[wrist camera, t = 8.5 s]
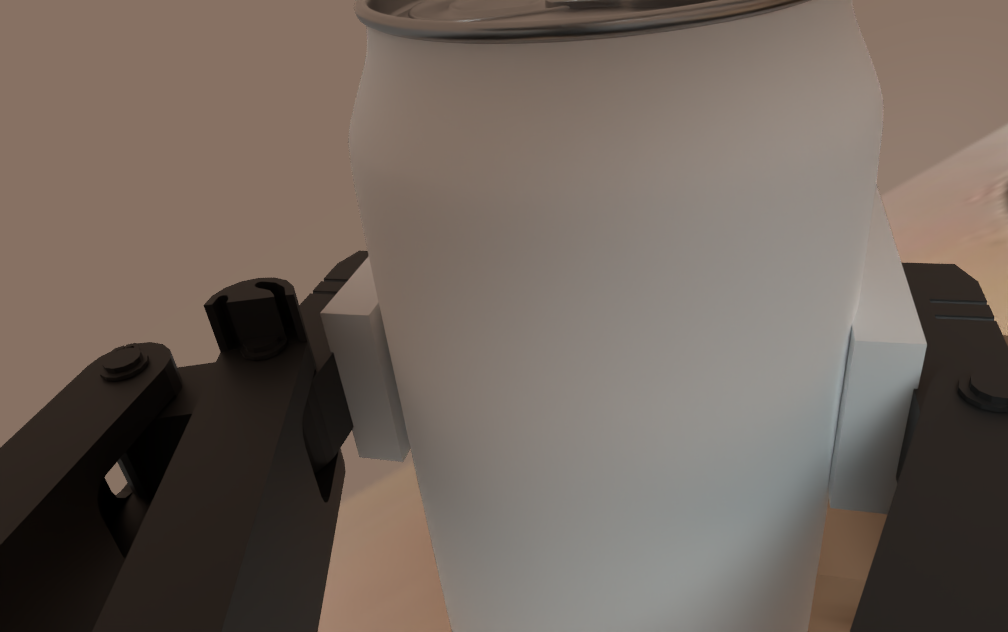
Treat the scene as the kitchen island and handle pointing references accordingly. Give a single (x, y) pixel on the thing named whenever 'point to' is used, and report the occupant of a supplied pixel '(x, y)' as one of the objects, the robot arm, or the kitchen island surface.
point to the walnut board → (844, 566)
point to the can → (619, 295)
